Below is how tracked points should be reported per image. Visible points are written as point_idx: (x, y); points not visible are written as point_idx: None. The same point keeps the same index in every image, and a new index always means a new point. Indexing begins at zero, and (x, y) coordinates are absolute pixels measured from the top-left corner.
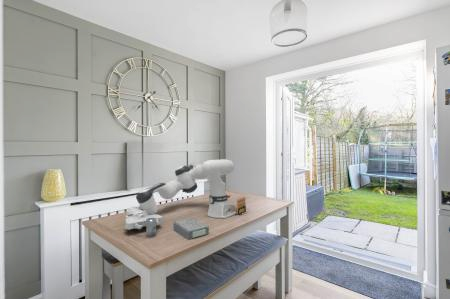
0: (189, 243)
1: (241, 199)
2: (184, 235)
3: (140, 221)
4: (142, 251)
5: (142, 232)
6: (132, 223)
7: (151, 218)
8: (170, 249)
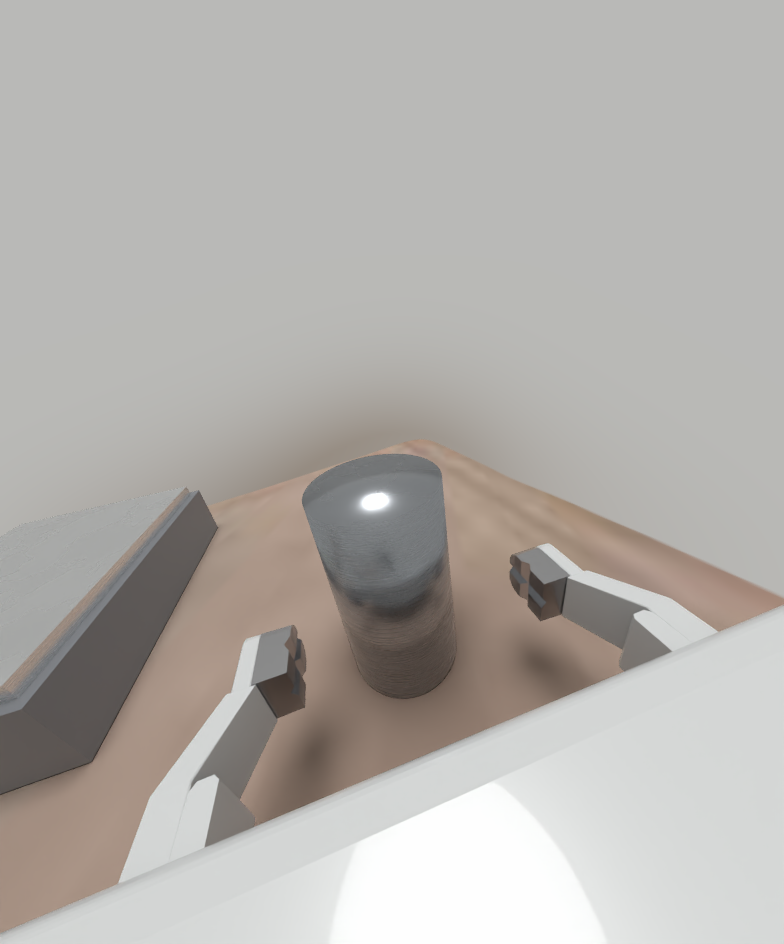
0: (246, 501)
1: None
2: (198, 545)
3: (611, 677)
4: (454, 472)
5: None
6: (762, 618)
7: (360, 498)
8: None
